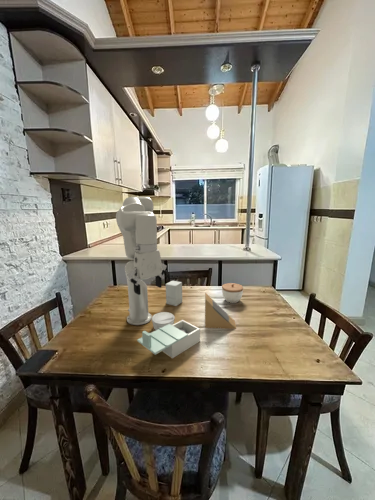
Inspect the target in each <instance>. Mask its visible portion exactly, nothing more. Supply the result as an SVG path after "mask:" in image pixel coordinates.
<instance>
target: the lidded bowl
mask: <svg viewBox="0 0 375 500" xmlns="http://www.w3.org/2000/svg"><path fill="white" fill-rule="evenodd" d="M243 290H244V287H243V285H242V284H239V283H233V282H229V283H224V284H222V285H221V292H222V296H223V299H224V300H225V301H226V302H227V303H229V302H230V304H236V303H239V301H240V300H241V299H242V297H243V293H244V291H243Z"/></svg>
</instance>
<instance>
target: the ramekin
mask: <svg viewBox="0 0 375 500" xmlns="http://www.w3.org/2000/svg"><path fill="white" fill-rule="evenodd" d="M151 322H152V327H153V329H154V331H156V330H158V329H159V328H162V327H164V326H166V325H168V324H171V325H173V324H175V315H174V314H173V313H171V312H168V311H161V312H157V313H155V314H153V315H152V319H151Z"/></svg>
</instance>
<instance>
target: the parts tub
mask: <svg viewBox="0 0 375 500" xmlns="http://www.w3.org/2000/svg"><path fill="white" fill-rule="evenodd" d="M172 326H174V327H176V328H178V329H179V330H181V331H183V332H185V333H187V334H188V336H187V337H185V338H184V339H182V340H180V341H178V342H177V343H175V344H173V345H171V346H170V347H168V348H166V349H164V350H163V351H162V352H163V353H164V354H166V355H167V356H168V357H170V358H171V359H174V358H175V357H177V356H178V355H180V354H182V353H184V352H185V351H187V350H188V349H190V348H192V347H193V346H195V345H197V344H198V343H199V342H200V341H201V328H199V327H197V326H195V325H194V324H192V323H190V322H188V321H186V320H184V319H181V320H179V321H178V322H176V323H175V322H174V324H173V325H172Z"/></svg>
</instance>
